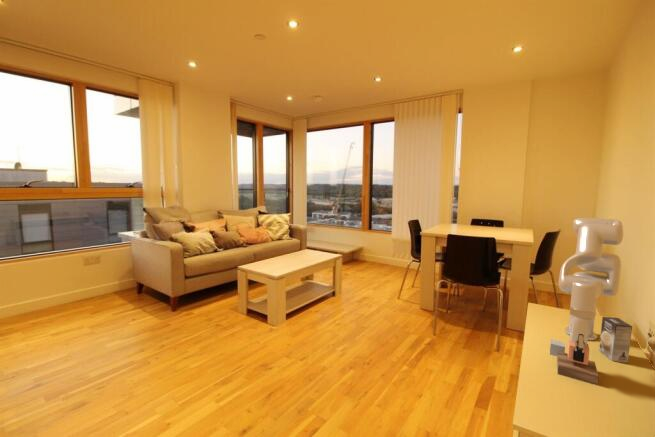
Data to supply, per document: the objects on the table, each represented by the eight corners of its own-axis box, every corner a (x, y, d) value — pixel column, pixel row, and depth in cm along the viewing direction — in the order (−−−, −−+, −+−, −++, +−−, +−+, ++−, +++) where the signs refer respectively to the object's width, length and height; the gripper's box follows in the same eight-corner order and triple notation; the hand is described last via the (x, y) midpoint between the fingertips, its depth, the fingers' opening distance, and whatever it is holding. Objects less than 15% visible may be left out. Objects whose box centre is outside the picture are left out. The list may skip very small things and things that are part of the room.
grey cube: (549, 349, 143) (550, 339, 143) (563, 353, 140) (564, 342, 140) (549, 354, 139) (550, 343, 139) (563, 358, 136) (565, 347, 136)
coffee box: (597, 350, 143) (601, 316, 142) (614, 352, 142) (618, 317, 141) (611, 361, 134) (615, 324, 133) (629, 363, 133) (633, 326, 132)
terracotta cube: (567, 353, 130) (568, 339, 129) (586, 358, 126) (587, 343, 125) (568, 360, 125) (569, 345, 124) (587, 365, 121) (589, 350, 121)
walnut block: (556, 361, 134) (557, 352, 134) (593, 371, 127) (594, 361, 127) (557, 375, 124) (558, 365, 124) (597, 386, 118) (598, 376, 117)
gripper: (568, 304, 133) (564, 345, 134) (570, 317, 119) (566, 363, 120) (592, 308, 128) (587, 351, 130) (597, 323, 114) (592, 370, 116)
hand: (577, 356), depth 125 cm, fingers closed on terracotta cube, 6 cm apart
